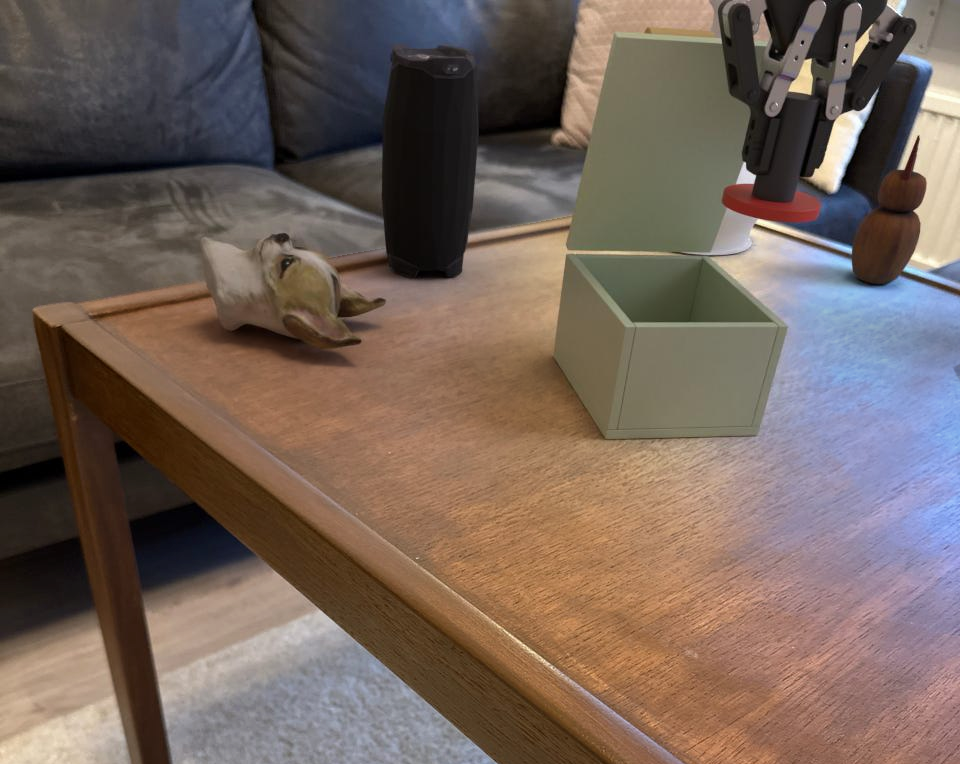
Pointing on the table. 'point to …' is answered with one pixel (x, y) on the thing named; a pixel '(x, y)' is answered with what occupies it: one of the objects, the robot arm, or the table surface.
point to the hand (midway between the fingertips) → (778, 172)
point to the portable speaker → (429, 158)
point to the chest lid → (660, 145)
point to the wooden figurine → (890, 226)
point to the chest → (665, 346)
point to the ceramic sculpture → (282, 291)
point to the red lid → (781, 170)
